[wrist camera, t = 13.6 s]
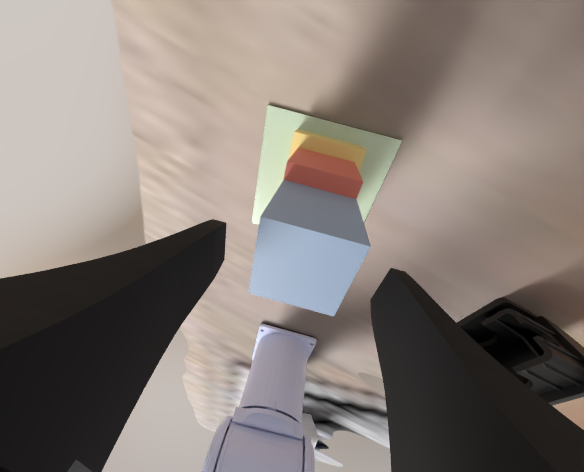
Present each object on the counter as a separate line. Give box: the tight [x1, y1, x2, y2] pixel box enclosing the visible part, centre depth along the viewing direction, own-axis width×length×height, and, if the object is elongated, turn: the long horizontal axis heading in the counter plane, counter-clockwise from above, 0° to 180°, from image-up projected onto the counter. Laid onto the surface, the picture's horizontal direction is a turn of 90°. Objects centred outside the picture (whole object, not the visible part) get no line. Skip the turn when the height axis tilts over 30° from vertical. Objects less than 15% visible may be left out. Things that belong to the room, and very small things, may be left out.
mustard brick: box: [288, 129, 367, 171], centre depth 17 cm, size 8×5×2 cm, turn 167°
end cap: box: [457, 298, 584, 406], centre depth 21 cm, size 10×7×7 cm
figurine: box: [301, 413, 318, 448], centre depth 37 cm, size 7×9×15 cm
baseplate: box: [252, 105, 402, 225], centre depth 18 cm, size 10×10×1 cm
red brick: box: [283, 148, 363, 199], centre depth 14 cm, size 6×4×4 cm, turn 167°
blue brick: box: [248, 180, 371, 317], centre depth 10 cm, size 4×4×4 cm
